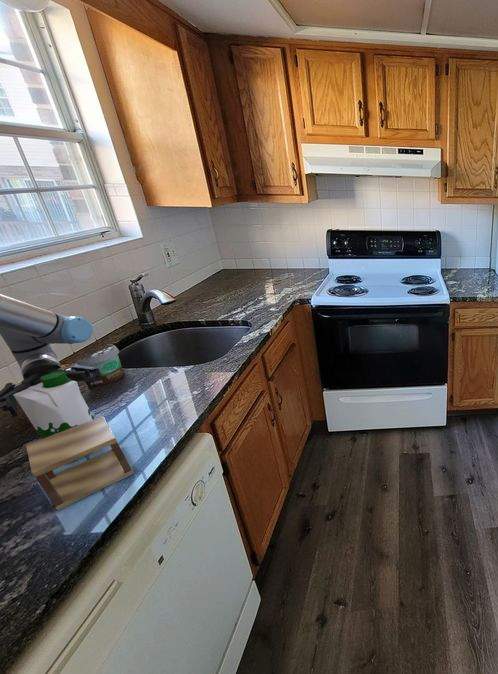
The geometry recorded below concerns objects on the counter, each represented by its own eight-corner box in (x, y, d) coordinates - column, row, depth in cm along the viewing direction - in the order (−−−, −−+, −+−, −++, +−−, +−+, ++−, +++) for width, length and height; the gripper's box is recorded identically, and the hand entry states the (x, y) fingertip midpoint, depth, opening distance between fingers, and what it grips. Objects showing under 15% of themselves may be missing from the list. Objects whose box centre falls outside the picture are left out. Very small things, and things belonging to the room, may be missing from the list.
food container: (108, 388, 116) (94, 360, 111) (88, 388, 116) (74, 361, 111) (138, 368, 127) (126, 342, 122) (120, 369, 127) (108, 343, 122)
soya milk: (113, 440, 92) (77, 372, 84) (70, 465, 85) (25, 394, 76) (90, 434, 95) (53, 367, 87) (47, 458, 87) (1, 387, 79)
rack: (49, 480, 81) (25, 445, 76) (120, 449, 89) (102, 415, 85) (57, 510, 73) (31, 473, 69) (134, 473, 82) (115, 437, 78)
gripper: (106, 365, 112) (123, 388, 99) (-18, 403, 94) (-16, 437, 82) (95, 343, 109) (111, 364, 96) (-35, 379, 91) (-36, 410, 79)
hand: (53, 398), depth 89 cm, fingers open, 13 cm apart
